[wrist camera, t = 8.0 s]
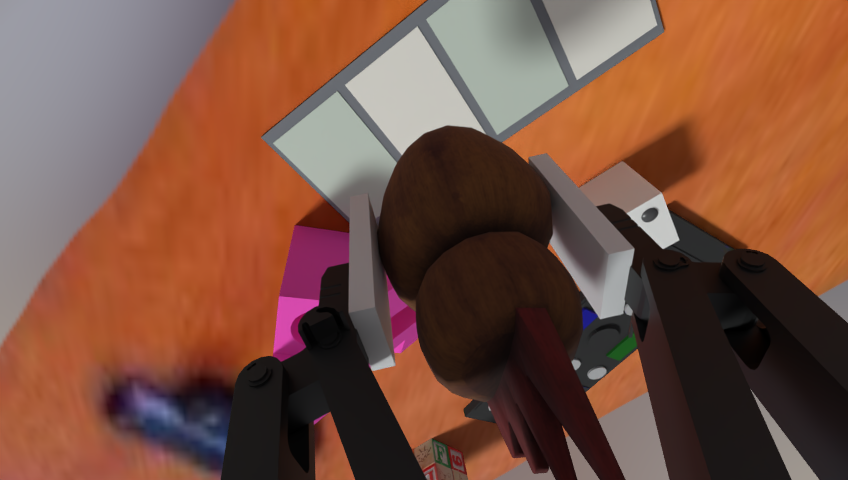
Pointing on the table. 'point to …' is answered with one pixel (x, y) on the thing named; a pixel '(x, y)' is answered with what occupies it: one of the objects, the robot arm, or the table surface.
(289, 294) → the bracket
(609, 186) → the die
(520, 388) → the wooden figurine
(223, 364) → the table surface
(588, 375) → the remote control
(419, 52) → the game mat
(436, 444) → the stack of blocks
